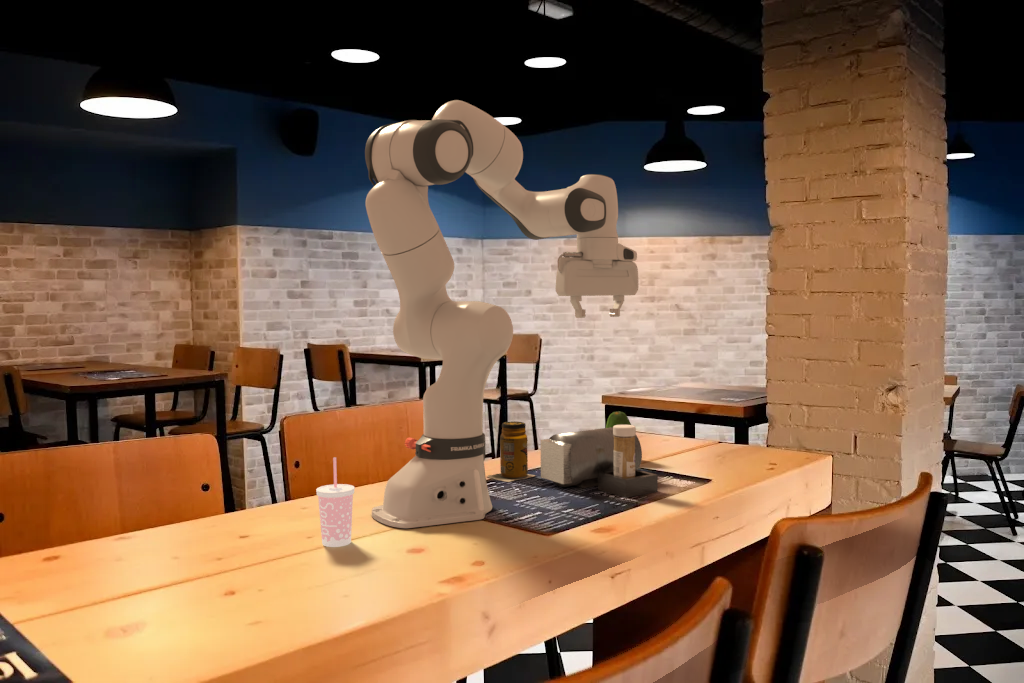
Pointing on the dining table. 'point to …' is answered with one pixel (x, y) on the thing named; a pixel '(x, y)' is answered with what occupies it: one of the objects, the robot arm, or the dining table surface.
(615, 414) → the avocado
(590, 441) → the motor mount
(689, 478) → the dining table surface
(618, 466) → the sprinkles bottle
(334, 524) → the beverage cup
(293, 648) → the dining table surface
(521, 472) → the condiment
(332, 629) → the dining table surface
